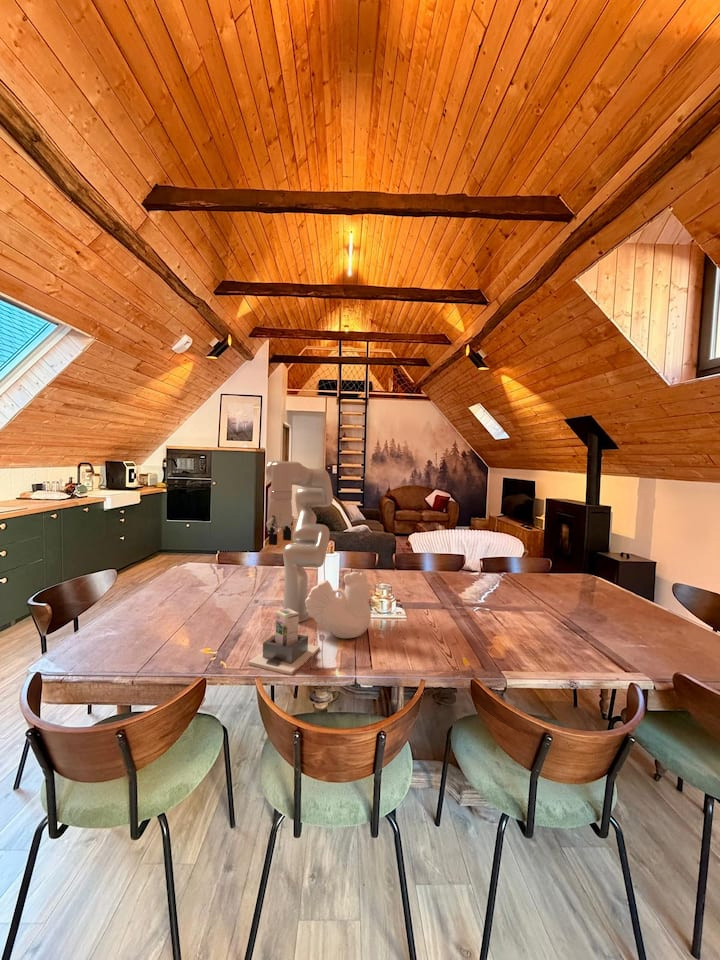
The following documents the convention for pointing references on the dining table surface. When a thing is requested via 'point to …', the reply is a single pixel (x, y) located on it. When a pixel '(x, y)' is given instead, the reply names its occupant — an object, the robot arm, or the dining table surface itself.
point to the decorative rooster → (342, 606)
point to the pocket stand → (284, 655)
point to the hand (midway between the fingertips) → (280, 542)
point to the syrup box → (286, 627)
